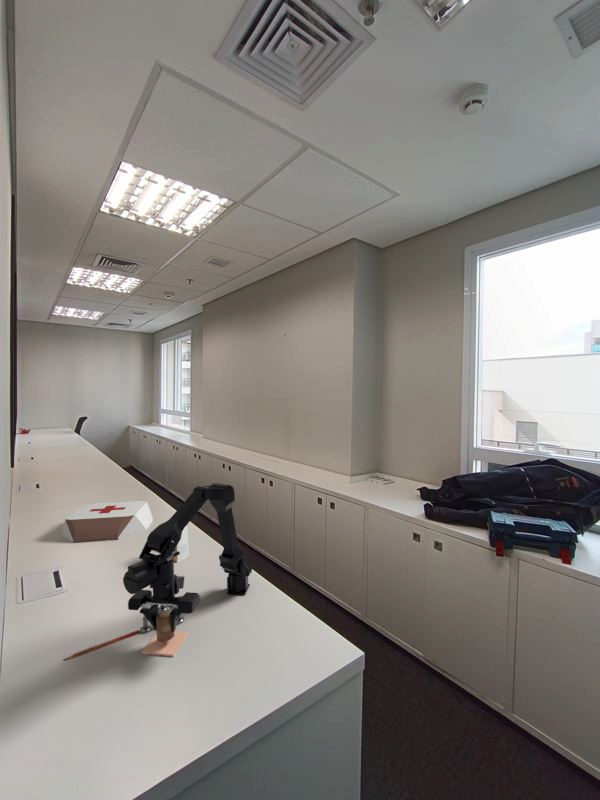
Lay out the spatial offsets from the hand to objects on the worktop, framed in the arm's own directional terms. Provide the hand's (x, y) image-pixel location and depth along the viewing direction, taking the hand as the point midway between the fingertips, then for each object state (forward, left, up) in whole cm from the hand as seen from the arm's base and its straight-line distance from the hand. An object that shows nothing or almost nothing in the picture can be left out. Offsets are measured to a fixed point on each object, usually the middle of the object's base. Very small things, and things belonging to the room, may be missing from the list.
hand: (165, 630), depth 105 cm
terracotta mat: (0, 0, -4) cm, 4 cm away
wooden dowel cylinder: (0, 0, -2) cm, 2 cm away
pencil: (+17, +3, -4) cm, 18 cm away
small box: (+22, -51, -4) cm, 56 cm away
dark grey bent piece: (+5, -10, -4) cm, 12 cm away
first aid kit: (+73, -80, -4) cm, 108 cm away
